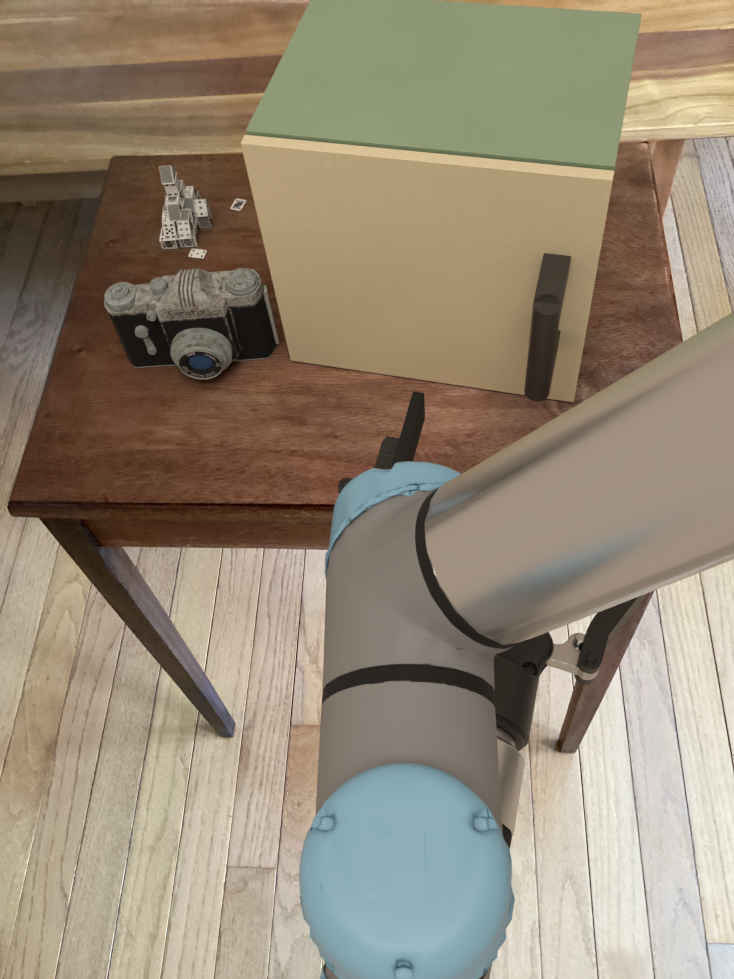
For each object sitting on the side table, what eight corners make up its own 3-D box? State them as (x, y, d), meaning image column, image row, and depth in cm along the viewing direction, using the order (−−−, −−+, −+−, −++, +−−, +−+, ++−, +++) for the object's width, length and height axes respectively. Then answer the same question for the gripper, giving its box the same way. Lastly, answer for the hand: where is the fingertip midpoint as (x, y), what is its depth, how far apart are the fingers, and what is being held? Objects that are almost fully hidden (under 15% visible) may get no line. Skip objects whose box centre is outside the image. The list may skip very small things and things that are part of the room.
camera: (121, 394, 86) (85, 321, 78) (130, 340, 90) (96, 264, 82) (278, 383, 86) (258, 308, 77) (280, 329, 89) (262, 251, 81)
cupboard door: (564, 457, 79) (601, 242, 58) (271, 410, 84) (212, 198, 64) (575, 394, 82) (614, 170, 62) (293, 352, 87) (244, 134, 67)
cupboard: (575, 392, 82) (615, 165, 62) (294, 351, 88) (245, 130, 67) (600, 251, 91) (641, 13, 71) (343, 222, 97) (313, -8, 76)
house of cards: (242, 256, 95) (226, 196, 89) (159, 262, 96) (137, 203, 89) (247, 197, 100) (232, 137, 94) (168, 203, 101) (148, 143, 94)
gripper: (248, 708, 55) (342, 424, 65) (683, 809, 50) (707, 485, 60) (222, 660, 48) (330, 355, 59) (717, 771, 43) (738, 416, 54)
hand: (521, 420), depth 60 cm, fingers open, 13 cm apart
